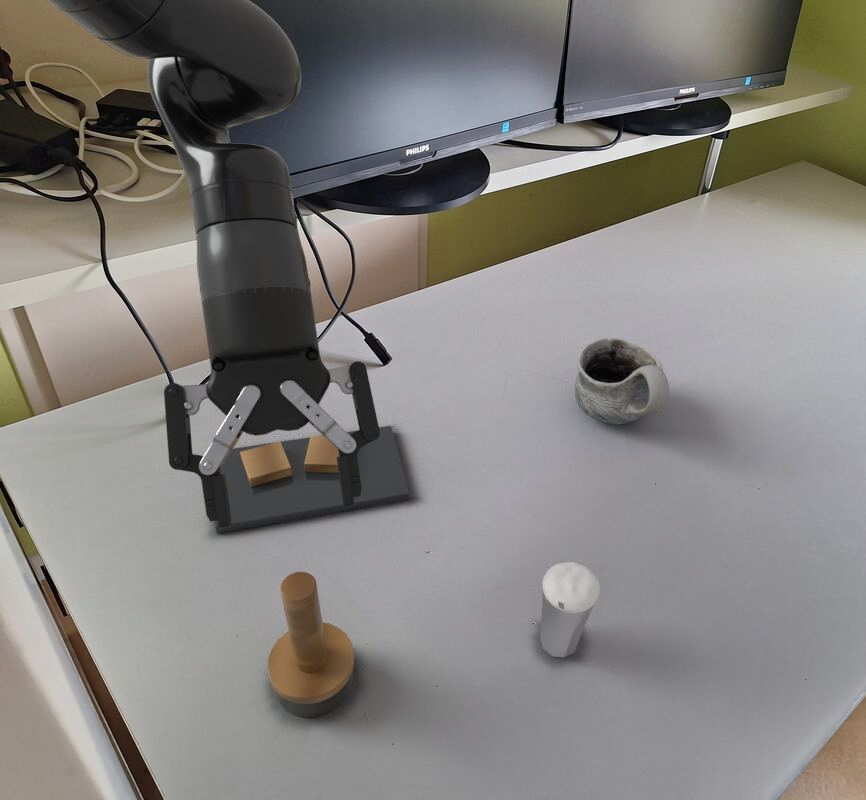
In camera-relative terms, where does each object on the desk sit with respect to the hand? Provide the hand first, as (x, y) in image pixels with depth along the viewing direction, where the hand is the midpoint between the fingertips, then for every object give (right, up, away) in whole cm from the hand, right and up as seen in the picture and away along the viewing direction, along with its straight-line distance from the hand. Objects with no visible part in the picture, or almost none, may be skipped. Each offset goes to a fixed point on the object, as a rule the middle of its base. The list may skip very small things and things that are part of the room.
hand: (289, 516), depth 55 cm
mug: (+28, +6, +34) cm, 44 cm away
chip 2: (-3, +2, +23) cm, 23 cm away
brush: (0, -14, +6) cm, 15 cm away
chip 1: (-9, +2, +21) cm, 23 cm away
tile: (-5, 0, +22) cm, 22 cm away
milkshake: (+20, -13, +11) cm, 26 cm away
